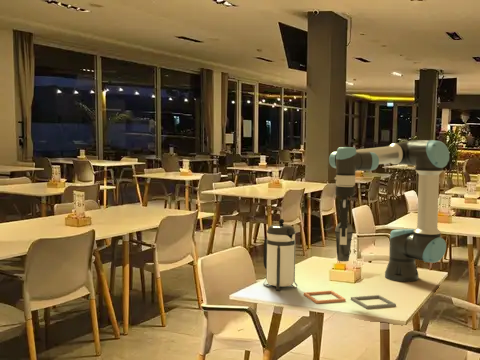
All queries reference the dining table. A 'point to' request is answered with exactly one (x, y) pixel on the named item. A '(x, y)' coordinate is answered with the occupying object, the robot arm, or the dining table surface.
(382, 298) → the frame
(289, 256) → the coffee press
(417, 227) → the robot arm
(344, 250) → the beverage cup
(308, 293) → the frame
